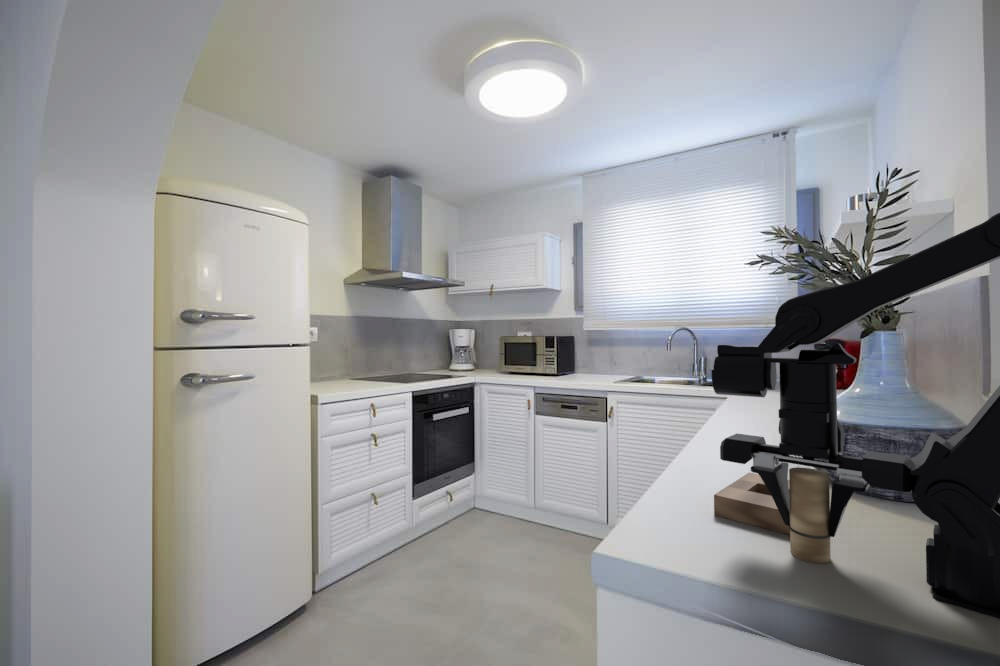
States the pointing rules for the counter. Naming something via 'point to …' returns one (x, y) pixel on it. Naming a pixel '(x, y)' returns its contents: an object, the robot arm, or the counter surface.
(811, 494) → the oak peg
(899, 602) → the counter surface
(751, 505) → the walnut board
